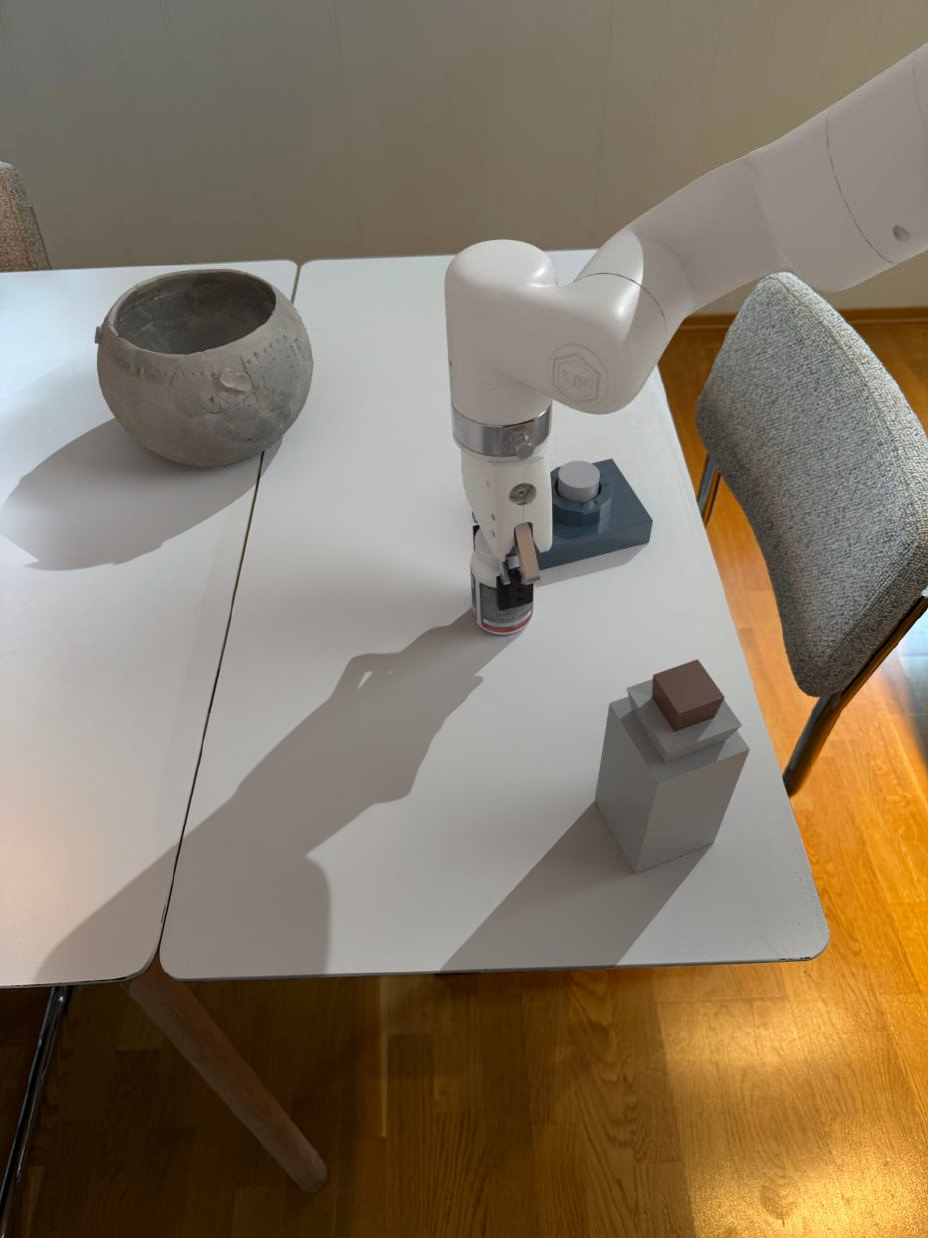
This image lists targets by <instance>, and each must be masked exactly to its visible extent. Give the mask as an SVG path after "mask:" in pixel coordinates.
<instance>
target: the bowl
mask: <svg viewBox="0 0 928 1238" xmlns="http://www.w3.org/2000/svg"><path fill="white" fill-rule="evenodd" d="M94 344H97V352H96V371H97V377H98V383H99V387H100V391H101V394H102V397H103V398H104V401H105V403H106V405H107V407H108V408H109V410H110V412H111V413H112V416H114V417H115V419H116V421H117V422H118V423H119V424H120V425H121V426H122V428H123V429H124V430H125V432H126V433H127V434H129V435H130V436H131V437H132V438H134V439H135V440H136V442H138V443H139V444H141V445H142V446H143V447H145V448H146V449H148V450H149V451H151V452H152V453H154V454H156V455H157V456H159V457H161V458H163V459H166V460H168V461H172V462H174V463H177V464H182V465H186V466H187V465H188V466H193V467H218V466H228V465H231V464H235V463H239V462H242V461H243V462H244V461H246V460H248V459H250V458H253V457H255V456H256V455H259V454H260V453H263V452H265V451H266V450H268V449H270V448H271V447H272V446H274V445H275V444H276V443H277V442H278V441H279V440H280V439H281V438H282V437H284V435H285V434H286V433H287V432H288V431H289V429H290V428H291V427H292V426H293V425H294V424H295V422H296V421H297V420H298V417H299V416H300V414H301V412H302V410H303V409H304V407H305V405H306V402H307V399H308V397H309V394H310V390H311V384H312V380H313V373H314V357H313V352H312V345H311V339H310V337H309V335H308V332H307V328H306V325H305V324H304V321H303V319H302V317H301V315H300V314H299V312H298V309H297V308H296V307H295V306H294V304H293V303H292V302H291V300H290V299H289V298H288V297H287V296H286V294H284V293H283V292H282V291H281V290H280V289H279V288H277V287H276V285H274V284H272V283H270V282H269V281H267V280H266V279H264V278H262V277H260V276H258V275H255V274H253V273H250V272H247V271H242V270H239V269H232V268H204V269H202V268H201V269H198V268H195V269H194V268H193V269H186V270H185V269H184V270H179V271H171V272H168V273H163V274H159V275H155V276H153V277H149V278H147V279H144V280H143V281H140V282H138V283H136V284H135V285H133V286H132V287H130V288H129V289H127V290H126V291H125V292H124V293H122V294H121V295H120V296H119V297H118V298H117V300H116V301H115V303H113V305H111V307H110V308H109V310H108V312H107V314H106V315H105V316H104V319H103V322H102V323H101V324H100V325H97V326H96V328H95V334H94Z"/></svg>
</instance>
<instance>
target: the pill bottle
mask: <svg viewBox="0 0 928 1238" xmlns="http://www.w3.org/2000/svg"><path fill="white" fill-rule="evenodd" d="M508 565H509V569H510V568H514V567H518V566H519V561H518V557H517V556H513V557H509V558H508ZM469 570H470V571H469V573H470V590H471V610H472V616H473V619H474V621H475V622H476V624H477V625H478V626H479V627H480V628H481V629H483V630H484V631H486V632H488V633H490V634H493V635H499V636H507V635H512V634H515V633H517V632H520V631H522V630H523V629H524V628H525V627H527V626H528V625H529V623H530V622H531V620H532V618H533V614H534V600H533V601H532V602H531V603H529V604H526V605H523V606H520V607H516V608H511V609H507V610H503V611H500V610H499V609H498V607H497V592H496V576H499V575H500V569H499V562H498V559H497V558H496V557H495V556H494V555H493V553H492V551H491V549H490V547H489V545H488V543H487V541H486V539H485V537H484V535H483V533H482V531H481V529H479V530H478V531H477V533H476V535H475V551H474V550H473V552H472V554H471V557H470V561H469ZM534 589H535V587H534V588H533V599H535V598H534V593H535V590H534Z"/></svg>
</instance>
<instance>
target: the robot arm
mask: <svg viewBox="0 0 928 1238" xmlns="http://www.w3.org/2000/svg"><path fill="white" fill-rule="evenodd" d="M926 251H928V42H925V43H924V44H923V45H922V46H920V47H918V48H917V49H916V50H913V52H911V53H909V54H908V55H906V56H904V57H903V58H902V59H900V60H898V61H897V62H896V63H894V64H893V65H891V66H890V67H888V68H886V69H885V70H884V71H882V72H881V73H879V74H878V75H876V76H874V77H873V78H872V79H870V80H868V81H867V82H866V83H864V84H863V85H861V86H860V87H858V88H856V89H855V90H854V91H852V92H851V93H849V94H847V95H846V96H844V97H843V98H842V99H839V100H838V101H836V102H834V103H832V104H831V105H829V106H828V107H827V108H825V109H824V110H822V111H820V112H819V113H817V114H816V115H814V116H812V117H811V118H809V119H808V120H806V121H805V122H803V123H802V124H800V125H798V126H797V127H795V128H794V129H792V130H791V131H789V132H787V133H786V134H784V135H783V136H781V137H780V138H778V139H776V140H775V141H773V142H770V143H769V144H765V145H763V146H761V147H759V148H756V149H753V150H751V151H750V152H748V153H746V154H744V155H743V156H740V157H739V158H736V159H733V160H731V161H729V162H725V163H724V164H722V165H720V166H718V167H716V168H714V169H712V170H710V171H709V172H707V173H705V174H703V175H701V176H699V177H697V178H696V179H695V180H693V181H691V182H690V183H688V184H686V185H685V186H683V187H682V188H680V189H679V190H677V191H676V192H674V193H672V194H671V195H670V196H668V197H667V198H664V200H662V201H660V202H659V203H658V204H656V205H655V206H653V207H652V208H651V209H649V210H647V211H646V212H644V213H643V214H641V215H640V216H638V217H637V218H635V219H634V220H633V221H631V222H629V224H627V225H625V226H624V227H622V228H621V229H620V230H619V231H617V232H615V234H614V235H612V236H611V237H610V238H609V239H608V240H607V241H606V242H604V243H603V244H602V245H601V246H600V248H598V250H597V251H596V252H595V253H594V254H593V256H592V257H591V258H590V259H589V260H588V262H587V263H586V264H585V265H584V266H583V268H582V269H581V271H580V272H579V273H578V274H577V276H575V278H574V279H573V281H572V282H571V283H568V284H566V285H563V286H559V283H558V281H559V279H558V272H557V270H556V266H555V264H554V262H553V261H552V260H551V258H550V257H549V255H548V254H547V253H545V252H544V251H543V250H542V249H540V248H538V247H537V246H535V245H533V244H531V243H528V242H525V241H521V240H515V239H492V240H491V239H490V240H485V241H481V242H477V243H474V244H471V245H469V246H468V247H466V248H464V249H463V250H461V251H459V252H458V253H457V254H455V256H454V257H453V258H452V260H451V261H450V262H449V264H448V266H447V268H446V270H445V271H446V272H445V276H444V280H443V281H444V282H443V284H444V289H443V290H444V291H443V292H444V293H443V294H444V311H445V312H444V313H445V328H446V343H447V345H446V346H447V362H448V363H447V364H448V377H449V391H450V394H449V395H450V412H451V413H450V414H451V428H452V438H453V441H454V443H455V444H456V446H457V447H458V448H459V449H460V463H461V465H460V466H461V477H462V483H463V484H462V485H463V491H464V494H465V497H466V500H467V502H468V504H469V507H470V509H471V517H472V520H473V521H472V522H473V523H474V524H475V525H472V543H473V544H472V545H473V552H474V551H475V535H476V533H477V531H478V530H479V529H481V531H482V533H483V535H484V537H485V539H486V541H487V543H488V545H489V547H490V549H491V551H492V553H493V555H494V556H495V557H496V558H497V559H498V562H499V569H500V575H499V576H496V592H497V607H498V609H499V610H500V611H503V610H507V609H511V608H516V607H520V606H523V605H526V604H529V603H531V602H532V601H533V602H534V598H533V588H534V589H535V583H539V582H541V581H542V576H541V572H540V571H541V570H539V567H538V562H537V558H536V553H535V549H534V544H533V541H534V542H535V544H536V546H537V548H538V549H539V551H540V553H541V552H545V551H548V550H549V549H550V548H551V545H552V492H551V477H550V472H551V469H550V461H549V455H548V451H547V447H546V445H547V444H548V443H549V441H550V439H551V436H552V425H553V407H554V406H553V405H554V401H555V402H558V403H560V404H562V405H563V406H565V407H567V408H570V409H572V410H574V411H579V412H581V413H584V414H590V415H598V416H599V415H601V416H602V415H609V414H612V413H616V412H618V411H621V410H622V409H624V408H626V407H627V406H629V404H631V403H632V402H633V401H634V400H635V399H636V397H637V396H638V395H640V392H641V391H642V389H643V388H644V387H645V384H646V383H647V381H648V380H649V378H650V376H651V374H652V373H653V371H654V369H655V368H656V366H657V365H658V363H659V361H660V359H661V358H662V356H663V354H664V352H665V350H667V349H666V348H667V347H668V345H669V344H670V342H671V340H672V339H673V337H674V335H675V334H676V332H677V330H678V329H679V328H680V326H681V324H682V323H683V322H684V320H685V319H686V318H688V317H689V316H691V315H692V314H693V313H695V312H698V310H700V309H702V308H703V307H705V306H707V305H709V304H711V303H712V302H714V301H716V300H718V299H719V298H721V297H723V296H725V295H727V294H729V293H731V292H733V291H735V290H736V289H738V288H740V287H742V286H745V285H747V284H749V283H750V282H753V281H756V280H758V279H760V278H763V277H766V276H769V275H772V274H776V273H777V274H778V273H782V272H792V273H794V274H795V276H796V277H797V278H798V279H800V280H801V281H802V283H804V284H806V285H807V286H809V287H811V288H812V289H814V290H816V291H819V292H824V293H838V292H842V291H845V290H848V289H850V288H852V287H855V286H857V285H860V284H862V283H863V282H865V281H867V280H869V279H871V278H873V277H875V276H877V275H879V274H882V273H883V272H885V271H888V270H889V269H892V268H894V267H896V266H897V265H899V264H901V263H903V262H906V261H907V260H910V259H911V258H913V257H915V256H918V255H919V254H921V253H924V252H926ZM532 539H533V540H532ZM513 556H517V557H518V561H519V566H518V567H514V568H510V569H509V565H508V558H509V557H513Z"/></svg>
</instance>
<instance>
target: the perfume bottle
mask: <svg viewBox="0 0 928 1238" xmlns="http://www.w3.org/2000/svg"><path fill="white" fill-rule="evenodd" d="M625 689H626V693H627V696H626V697H622V698H620V699H617V700H614V701H611V702H609V703H608V711H607V718H606V724H605V729H604V730H605V731H604V736H603V743H602V749H601V757H600V762H599V769H598V770H599V771H598V775H597V776H598V777H597V782H596V789H595V795H594V802H595V803H596V806H597V807H598V809H599V811H600V813H601V815H602V816H603V818H604V820H605V822H606V824H607V825H608V828H609V829H610V831H611V833H612V835H613V837H614V839H615V840H616V843H617V844H618V846H619V848H620V849H621V851H622V853H623V855H624V857H625V859H626V861H627V863H628V865H629V866H630V868H631V870H632V872H633V874H634V875H638V874H640V873H642V872H645V871H647V870H650V869H653V868H655V867H658V866H660V865H663V864H665V863H667V862H670V861H673V860H675V859H677V858H680V857H682V856H685V855H688V854H691V853H693V852H696V851H698V850H700V849H703V848H705V847H708V846H710V845H713V844H714V843H715V841H716V839H717V836H718V833H719V831H720V828H721V826H722V823H723V821H724V818H725V815H726V812H727V810H728V807H729V805H730V801H731V800H732V797H733V795H734V792H735V789H736V787H737V784H738V781H739V779H740V776H741V773H742V771H743V769H744V766H745V763H746V762H747V758H748V755H749V753H750V750H751V748H750V747H749V745H748V744H747V743H746V741H745V739H744V738H743V737H742V735H741V733H739V731H738V730H739V729H740V728H741V727H742V726H743V724H742V723H741V721H740V720H739V718H738V717H737V716H736V714H735V712H734V711H733V710H732V709H731V707H730V706H729V705H728V703H727V702H726V700H725V698H726V696H725V695H724V694H723V692H722V691H721V689H720V688H719V687H718V686H717V684H716V683H715V681H714V679H713V678H712V677H711V675H710V674H709V673H708V671H707V670H706V668H705V667H704V666H703V664H702V663H701V661H700V660H699V659H698V658H697V659H694V660H691V661H689V662H685V663H683V664H680V665H677V666H674V667H672V668H669V669H665V670H662V671H660V672H657V673H653V674H652V678H651V679H648V680H646V681H645V680H644V681H641V682H639V683H637V684H634V685H631V686H628V687H626V688H625Z"/></svg>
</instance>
